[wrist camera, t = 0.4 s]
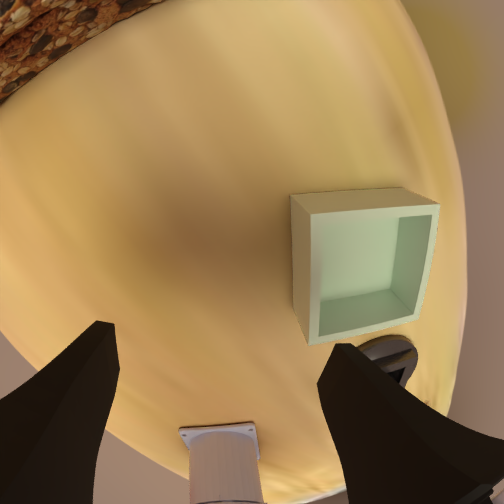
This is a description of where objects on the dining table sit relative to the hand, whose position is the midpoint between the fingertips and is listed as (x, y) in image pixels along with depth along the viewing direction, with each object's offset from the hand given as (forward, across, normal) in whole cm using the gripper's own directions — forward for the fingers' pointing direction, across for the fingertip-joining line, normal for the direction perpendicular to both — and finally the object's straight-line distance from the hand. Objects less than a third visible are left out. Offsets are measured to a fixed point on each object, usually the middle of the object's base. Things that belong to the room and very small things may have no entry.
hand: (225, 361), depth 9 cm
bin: (+10, -9, -1) cm, 13 cm away
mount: (+10, -16, +12) cm, 22 cm away
